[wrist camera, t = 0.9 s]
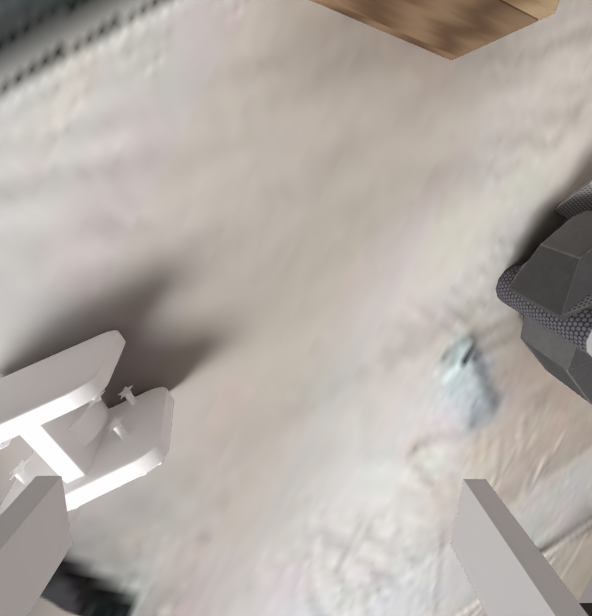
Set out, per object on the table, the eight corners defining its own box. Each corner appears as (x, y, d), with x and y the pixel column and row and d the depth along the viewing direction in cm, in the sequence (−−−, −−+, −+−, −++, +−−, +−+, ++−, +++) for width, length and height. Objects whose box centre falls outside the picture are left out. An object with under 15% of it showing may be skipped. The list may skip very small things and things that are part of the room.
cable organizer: (129, 317, 36) (101, 375, 26) (178, 393, 41) (171, 469, 30) (-15, 380, 35) (-106, 468, 24) (52, 452, 39) (-1, 553, 29)
